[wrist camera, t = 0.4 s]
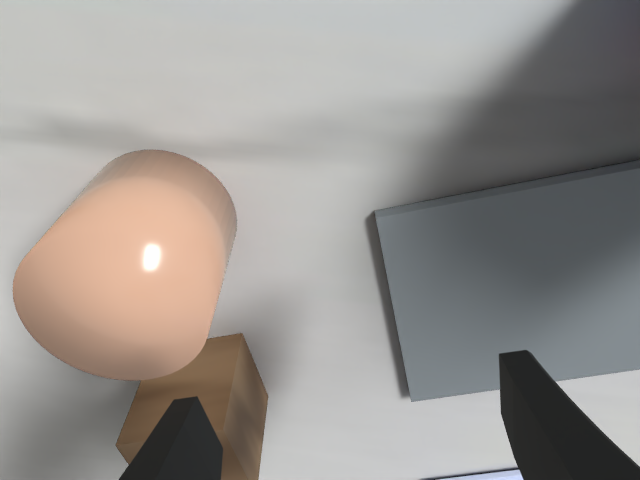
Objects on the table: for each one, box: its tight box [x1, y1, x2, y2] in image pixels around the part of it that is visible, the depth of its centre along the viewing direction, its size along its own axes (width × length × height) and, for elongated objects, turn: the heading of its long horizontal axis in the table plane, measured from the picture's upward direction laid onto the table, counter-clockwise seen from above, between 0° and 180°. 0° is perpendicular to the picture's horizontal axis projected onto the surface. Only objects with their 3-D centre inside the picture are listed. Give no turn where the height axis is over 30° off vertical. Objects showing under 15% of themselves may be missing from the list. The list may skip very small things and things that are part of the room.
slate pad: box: [375, 160, 640, 402], centre depth 23 cm, size 11×11×1 cm
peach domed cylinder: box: [13, 150, 237, 381], centre depth 19 cm, size 6×6×6 cm
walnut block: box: [116, 333, 268, 480], centre depth 24 cm, size 4×4×6 cm
